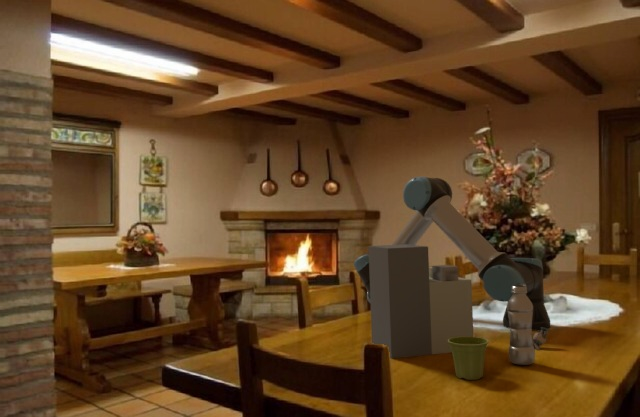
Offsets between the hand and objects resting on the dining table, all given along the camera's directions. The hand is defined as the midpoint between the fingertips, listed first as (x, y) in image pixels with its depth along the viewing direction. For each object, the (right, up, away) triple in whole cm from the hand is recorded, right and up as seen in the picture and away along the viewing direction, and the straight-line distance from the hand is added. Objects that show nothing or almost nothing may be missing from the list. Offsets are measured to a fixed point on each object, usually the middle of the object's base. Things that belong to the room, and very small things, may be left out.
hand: (407, 258), depth 184 cm
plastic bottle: (+22, -23, -45) cm, 55 cm away
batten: (+4, -4, -17) cm, 17 cm away
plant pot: (+6, -24, -54) cm, 59 cm away
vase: (+33, -23, -28) cm, 50 cm away
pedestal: (0, -24, -24) cm, 34 cm away
